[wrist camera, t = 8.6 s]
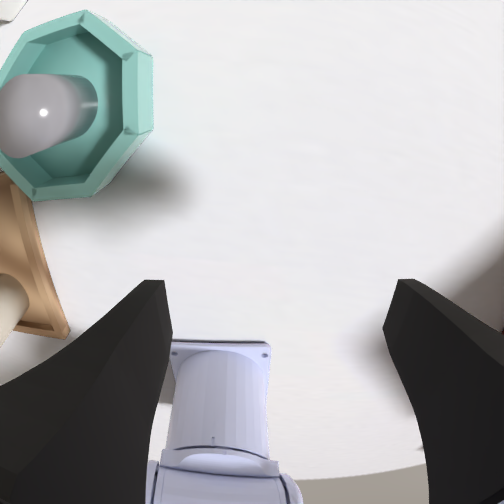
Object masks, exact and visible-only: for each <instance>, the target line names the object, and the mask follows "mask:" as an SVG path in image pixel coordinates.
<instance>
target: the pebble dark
mask: <svg viewBox="0 0 504 504" xmlns="http://www.w3.org/2000/svg"><path fill="white" fill-rule="evenodd" d="M97 110H98V97H97V92H96V90H95V88H94V86H93V84H92V83H91V82H90V81H89V80H88V79H86V78H85V77H83V76H79V75H65V74H21V75H18V76H15V77H13V78H12V79H10V80H9V81H8V82H7V83H6V84H5V85H4V86H3V87H2V89H1V90H0V149H1V150H2V152H4V153H5V154H6V155H8V156H9V157H12V158H24V157H27V156H29V155H32V154H34V153H37V152H39V151H42V150H45V149H47V148H50V147H53V146H56V145H58V144H61V143H64V142H67V141H70V140H73V139H76V138H78V137H80V136H82V135H83V134H84V133H86V132H87V131H88V130H89V128H90V127H91V125H92V124H93V122H94V120H95V117H96V114H97Z"/></svg>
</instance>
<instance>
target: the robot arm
mask: <svg viewBox="0 0 504 504" xmlns="http://www.w3.org/2000/svg"><path fill="white" fill-rule="evenodd" d="M383 332H384V335H385V339H386V343H387V346H388V349H389V352H390V355H391V358H392V360H393V362H394V365H395V367H396V369H397V371H398V374H399V376H400V378H401V381H402V383H403V385H404V387H405V390H406V392H407V395H408V397H409V399H410V402H411V404H412V406H413V409H414V412H415V415H416V418H417V422H418V426H419V430H420V434H421V438H422V442H423V448H424V453H425V459H426V465H427V473H428V484H429V504H504V335H503V334H501V333H499V332H498V331H496V330H494V329H493V328H491V327H489V326H488V325H486V324H485V323H483V322H481V321H480V320H478V319H477V318H475V317H474V316H472V315H471V314H469V313H468V312H466V311H465V310H463V309H462V308H460V307H459V306H457V305H456V304H454V303H453V302H451V301H450V300H448V299H447V298H445V297H444V296H442V295H441V294H439V293H438V292H436V291H434V290H433V289H431V288H430V287H428V286H426V285H425V284H423V283H421V282H419V281H417V280H415V279H398V282H397V285H396V289H395V292H394V295H393V298H392V302H391V305H390V308H389V311H388V314H387V317H386V320H385V323H384V325H383ZM172 335H173V331H172V325H171V320H170V314H169V308H168V302H167V295H166V289H165V282H164V280H144V281H143V282H141V283H140V284H139V285H138V286H137V287H135V288H134V289H133V290H132V291H131V292H130V293H129V294H128V295H127V296H126V297H124V298H123V299H122V300H121V301H120V302H119V303H118V304H117V305H116V306H114V307H113V308H112V309H111V310H110V311H109V312H108V313H107V314H106V315H104V316H103V317H102V318H101V319H100V320H99V321H97V322H96V323H95V324H94V325H92V326H91V327H90V328H89V329H88V330H86V331H85V332H84V333H83V334H82V335H80V336H79V337H78V338H77V339H76V340H74V341H73V342H72V343H70V344H69V345H68V346H66V347H65V348H63V349H62V350H61V351H59V352H58V353H56V354H55V355H53V356H52V357H50V358H49V359H47V360H46V361H44V362H43V363H41V364H39V365H38V366H36V367H34V368H33V369H31V370H29V371H27V372H26V373H24V374H22V375H21V376H19V377H17V378H15V379H13V380H11V381H9V382H7V383H5V384H3V385H1V386H0V504H303V499H302V495H301V492H300V489H299V487H298V485H297V484H296V483H295V482H294V481H293V479H292V478H291V477H290V476H289V475H287V474H284V473H279V463H278V461H273V460H270V454H269V440H268V426H267V412H266V401H267V391H268V381H269V371H270V361H271V346H270V345H269V344H228V343H190V342H172ZM264 353H266V354H264ZM169 357H170V361H171V366H172V370H173V374H174V378H175V382H176V387H175V393H174V399H173V404H172V410H171V416H170V422H169V429H168V435H167V441H166V448H165V449H163V450H162V454H161V460H160V466H159V461H154V460H150V461H149V462H148V453H149V444H150V435H151V429H152V424H153V419H154V415H155V411H156V407H157V404H158V400H159V396H160V392H161V388H162V385H163V381H164V377H165V373H166V369H167V366H168V362H169Z"/></svg>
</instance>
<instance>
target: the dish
mask: <svg viewBox="0 0 504 504" xmlns="http://www.w3.org/2000/svg"><path fill="white" fill-rule="evenodd" d="M21 74H65V75H79V76H83V77H85V78H86V79H88V80H89V81H90V82H91V83H92V84H93V86H94V88H95V90H96V92H97V97H98V110H97V114H96V117H95V120H94V122H93V124H92V125H91V127H90V128H89V130H88V131H87V132H86V133H84V134H83V135H82V136H80V137H78V138H76V139H73V140H70V141H67V142H64V143H61V144H58V145H56V146H53V147H50V148H47V149H45V150H42V151H39V152H37V153H34V154H32V155H29V156H27V157H24V158H12V157H9V156H8V155H6V154H5V153H4V152H2V150H1V149H0V167H1V168H2V170H3V171H4V172H5V173H6V174H7V175H8V176H9V177H10V178H11V179H12V180H13V181H14V183H15V184H16V185H17V186H18V187H19V188H20V189H21V190H22V191H23V192H24V193H25V194H26V195H27V196H28V197H29V198H30V199H31V200H32V201H33V200H34V202H35V201H46V200H57V199H70V198H84V197H91V196H93V195H94V194H96V193H97V192H98V191H100V190H101V189H102V188H104V187H105V186H106V185H108V184H109V183H110V182H111V181H112V180H113V178H114V177H115V176H116V174H117V173H118V172H119V171H120V169H121V168H122V167H123V165H124V164H125V163H126V162H127V160H128V159H129V158H130V157H131V155H132V154H133V153H134V152H135V151H136V149H137V148H138V147H139V146H140V145H141V143H142V142H143V141H144V140H145V139H146V138H147V136H148V135H149V134H150V133H151V132H152V131H153V130H152V129H153V57H152V55H150V54H149V53H148V52H147V51H146V50H144V49H143V48H142V47H141V46H140V45H138V44H137V43H136V42H135V41H133V40H132V39H131V38H130V37H128V36H127V35H126V34H125V33H123V32H122V31H121V30H120V29H118V28H117V27H116V26H115V25H113V24H112V23H111V22H109V21H108V20H107V19H105V18H103V17H101V16H99V15H97V14H95V13H93V12H90V11H88V10H82V11H79V12H75V13H72V14H69V15H66V16H63V17H60V18H57V19H55V20H52V21H49V22H47V23H44V24H41V25H39V26H36V27H34V28H32V29H29V30H27V31H25V32H24V33H23V34H22V35H21V37H20V38H19V40H18V41H17V43H16V45H15V46H14V48H13V49H12V51H11V53H10V54H9V56H8V58H7V59H6V61H5V63H4V65H3V66H2V68H1V70H0V90H1V89H2V87H3V86H4V85H5V84H6V83H7V82H8V81H9V80H10V79H12V78H13V77H15V76H18V75H21Z"/></svg>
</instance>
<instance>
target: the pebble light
mask: <svg viewBox="0 0 504 504" xmlns="http://www.w3.org/2000/svg"><path fill="white" fill-rule="evenodd" d="M28 308H29V298H28V295H27V292H26V291H25V289H24V287H23V286H22V285H21V283H20V282H19V281H18V280H17V279H15V278H14V277H13V276H11V275H9V274H0V348H1V346H2V345H3V343H4V342H5V340H6V339H7V337H8V336H9V334H10V333H11V332H12V330H13V329H14V327H15V326H16V325H17V323H18V322H19V321H20V319H21V318H22V317H23V315H24V314H25V313H26V311H27V310H28Z"/></svg>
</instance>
